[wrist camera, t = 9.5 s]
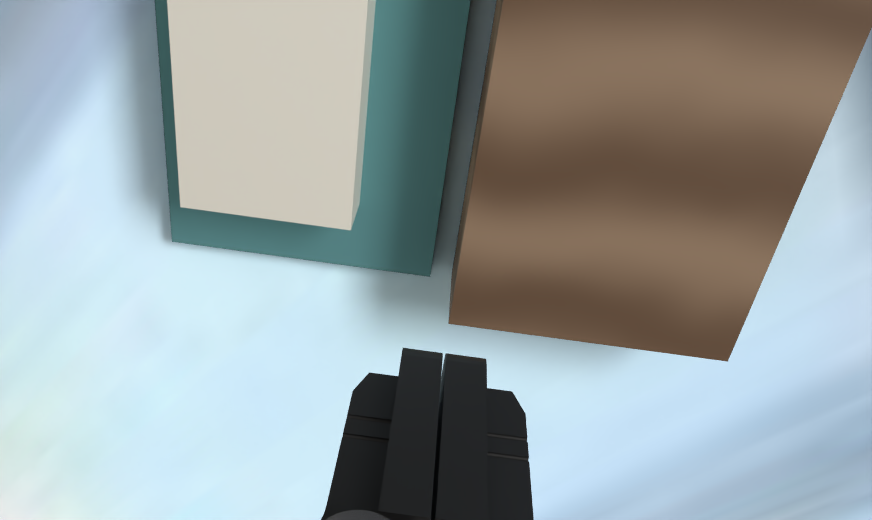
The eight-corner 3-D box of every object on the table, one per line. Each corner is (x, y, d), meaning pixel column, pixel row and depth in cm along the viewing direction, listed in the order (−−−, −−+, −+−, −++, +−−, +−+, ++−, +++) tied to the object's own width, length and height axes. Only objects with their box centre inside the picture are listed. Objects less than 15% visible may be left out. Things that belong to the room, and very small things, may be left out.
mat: (149, -158, 25) (143, -158, 25) (486, -108, 25) (486, -107, 25) (175, 236, 33) (172, 241, 33) (430, 271, 34) (429, 276, 33)
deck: (513, -104, 25) (519, -95, 22) (843, -55, 26) (900, -39, 22) (451, 274, 34) (448, 323, 30) (702, 308, 34) (727, 361, 30)
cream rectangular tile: (370, -28, 24) (378, -39, 26) (163, -58, 24) (189, -66, 26) (350, 230, 29) (359, 203, 31) (180, 207, 29) (200, 181, 31)
